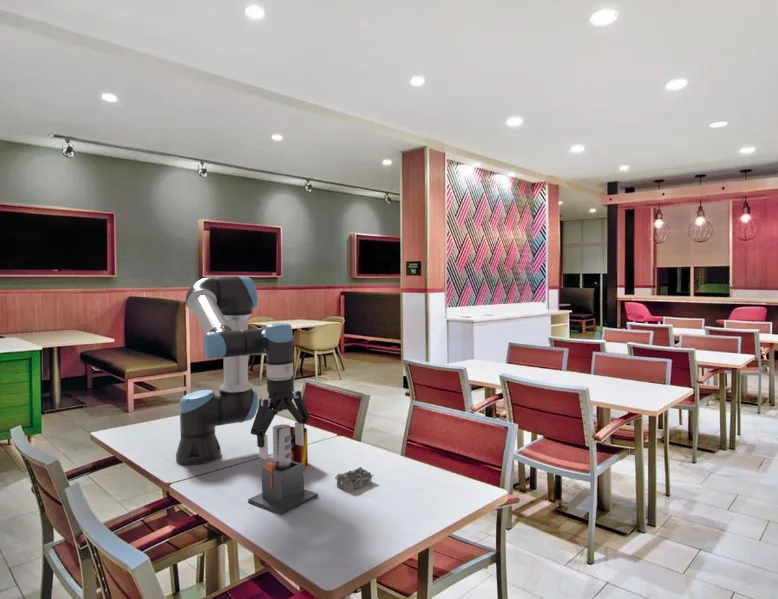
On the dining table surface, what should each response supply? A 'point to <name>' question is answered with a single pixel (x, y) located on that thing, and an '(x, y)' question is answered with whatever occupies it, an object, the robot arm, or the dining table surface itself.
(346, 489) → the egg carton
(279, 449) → the column
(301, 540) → the dining table surface
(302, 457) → the mug
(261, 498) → the stand
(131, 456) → the dining table surface
